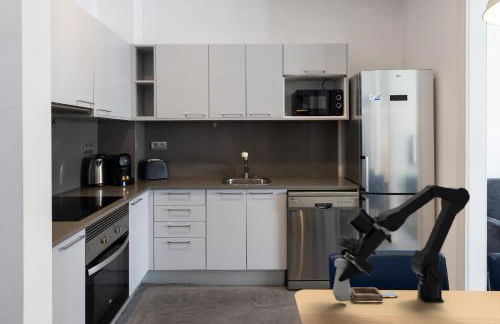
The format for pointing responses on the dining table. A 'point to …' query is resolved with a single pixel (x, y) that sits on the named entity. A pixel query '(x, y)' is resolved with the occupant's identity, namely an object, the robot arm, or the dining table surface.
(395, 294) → the grey rectangular slab
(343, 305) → the dining table surface
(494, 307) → the dining table surface
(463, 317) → the dining table surface
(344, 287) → the salt shaker
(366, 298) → the walnut socket
